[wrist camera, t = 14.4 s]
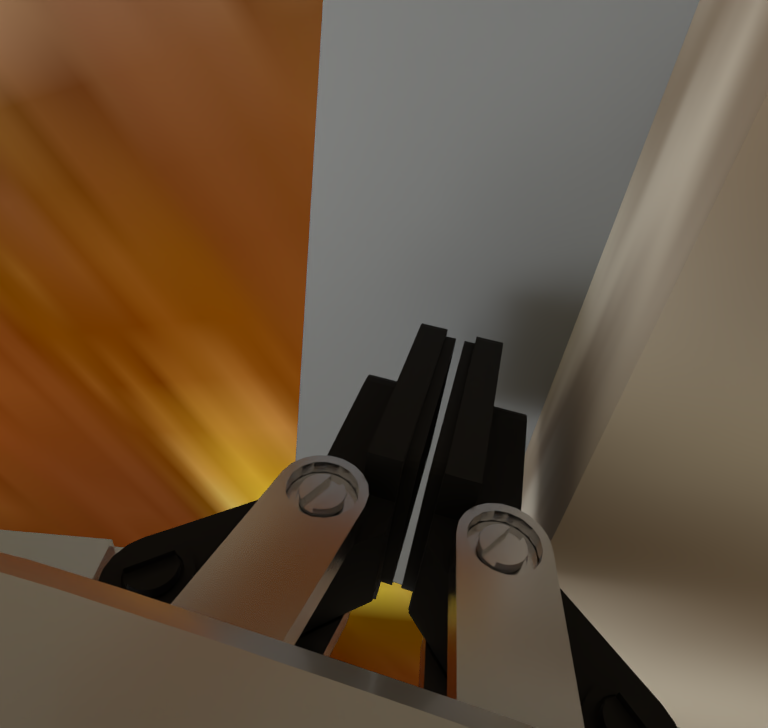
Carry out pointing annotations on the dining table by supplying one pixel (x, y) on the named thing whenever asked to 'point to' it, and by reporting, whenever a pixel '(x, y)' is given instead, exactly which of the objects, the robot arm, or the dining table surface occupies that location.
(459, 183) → the floor panel
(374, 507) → the robot arm
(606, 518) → the ash plank
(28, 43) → the dining table surface
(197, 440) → the dining table surface
